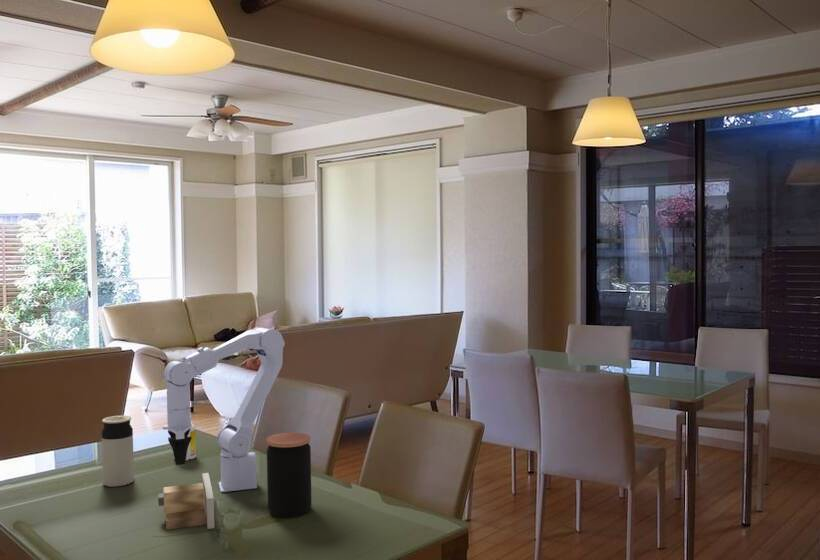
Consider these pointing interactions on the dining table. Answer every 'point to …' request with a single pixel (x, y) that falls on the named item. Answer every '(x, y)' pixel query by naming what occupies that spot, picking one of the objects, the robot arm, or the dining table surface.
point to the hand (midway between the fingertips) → (180, 460)
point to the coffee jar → (289, 474)
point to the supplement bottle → (191, 444)
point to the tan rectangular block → (182, 498)
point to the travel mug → (117, 451)
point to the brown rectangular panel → (186, 519)
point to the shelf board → (208, 500)
